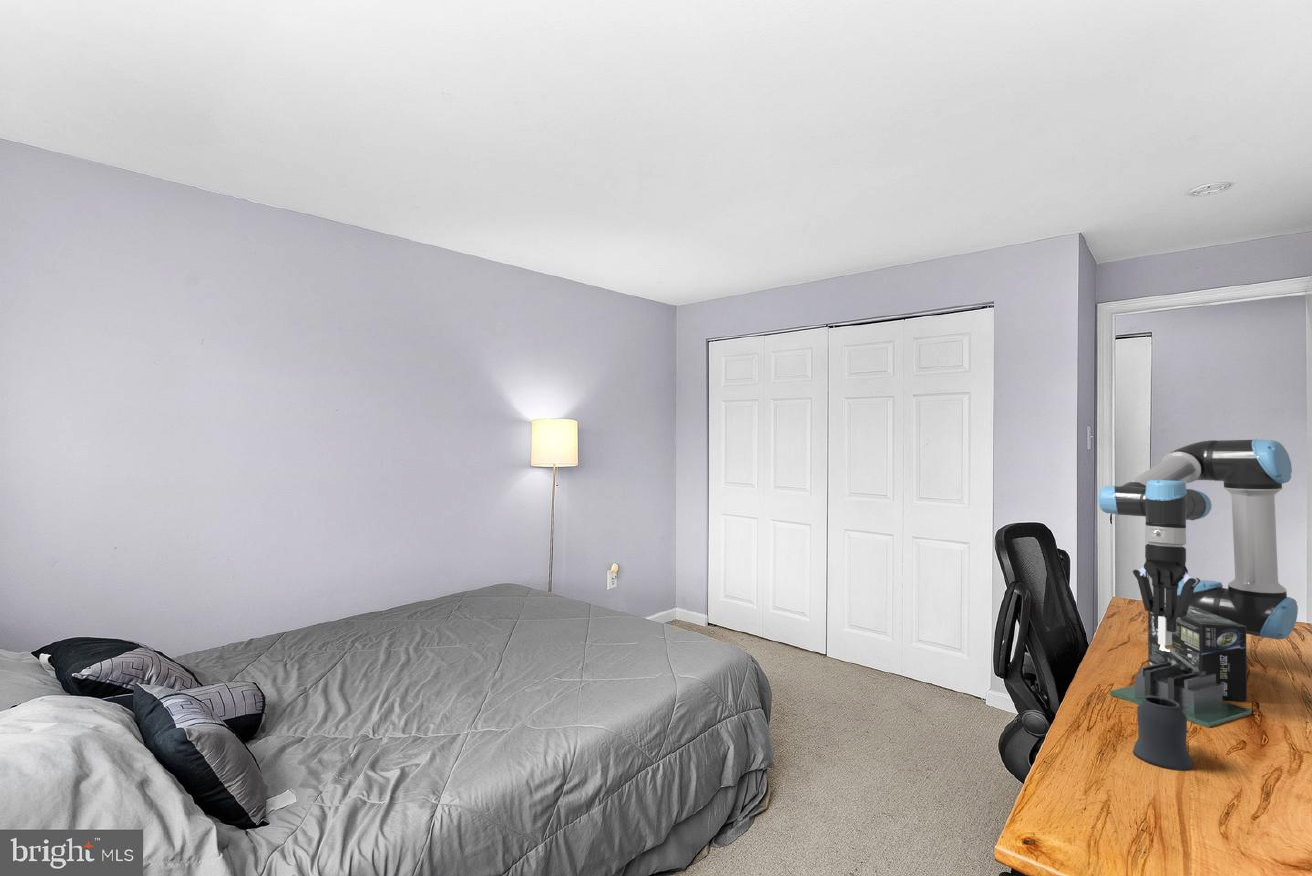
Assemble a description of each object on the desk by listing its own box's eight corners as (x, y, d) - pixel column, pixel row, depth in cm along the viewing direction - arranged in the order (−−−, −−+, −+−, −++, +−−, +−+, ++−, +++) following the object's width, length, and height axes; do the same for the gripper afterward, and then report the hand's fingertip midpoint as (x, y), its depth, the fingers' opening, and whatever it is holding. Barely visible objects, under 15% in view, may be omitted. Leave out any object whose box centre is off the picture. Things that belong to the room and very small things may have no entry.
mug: (1195, 775, 114) (1194, 714, 114) (1133, 760, 120) (1132, 702, 120) (1189, 751, 124) (1188, 695, 124) (1132, 738, 129) (1131, 684, 130)
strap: (1189, 673, 153) (1191, 667, 153) (1203, 677, 150) (1205, 671, 150) (1157, 649, 147) (1159, 643, 148) (1171, 652, 145) (1173, 646, 145)
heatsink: (1152, 684, 161) (1152, 653, 161) (1251, 714, 142) (1250, 679, 143) (1110, 694, 153) (1109, 662, 154) (1208, 727, 135) (1208, 690, 135)
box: (1249, 703, 149) (1248, 624, 150) (1201, 699, 151) (1200, 622, 152) (1187, 671, 172) (1186, 602, 172) (1147, 668, 174) (1146, 600, 174)
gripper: (1125, 541, 152) (1125, 637, 151) (1189, 548, 140) (1188, 653, 139) (1143, 540, 155) (1143, 635, 154) (1207, 548, 143) (1207, 650, 142)
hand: (1164, 644), depth 146 cm, fingers closed
